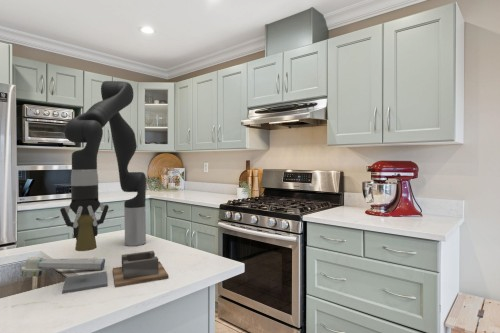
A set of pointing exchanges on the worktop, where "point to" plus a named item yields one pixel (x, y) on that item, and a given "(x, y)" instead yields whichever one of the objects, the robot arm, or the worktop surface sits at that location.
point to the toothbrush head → (60, 265)
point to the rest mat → (85, 282)
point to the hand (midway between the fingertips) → (85, 238)
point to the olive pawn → (85, 234)
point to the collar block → (139, 269)
